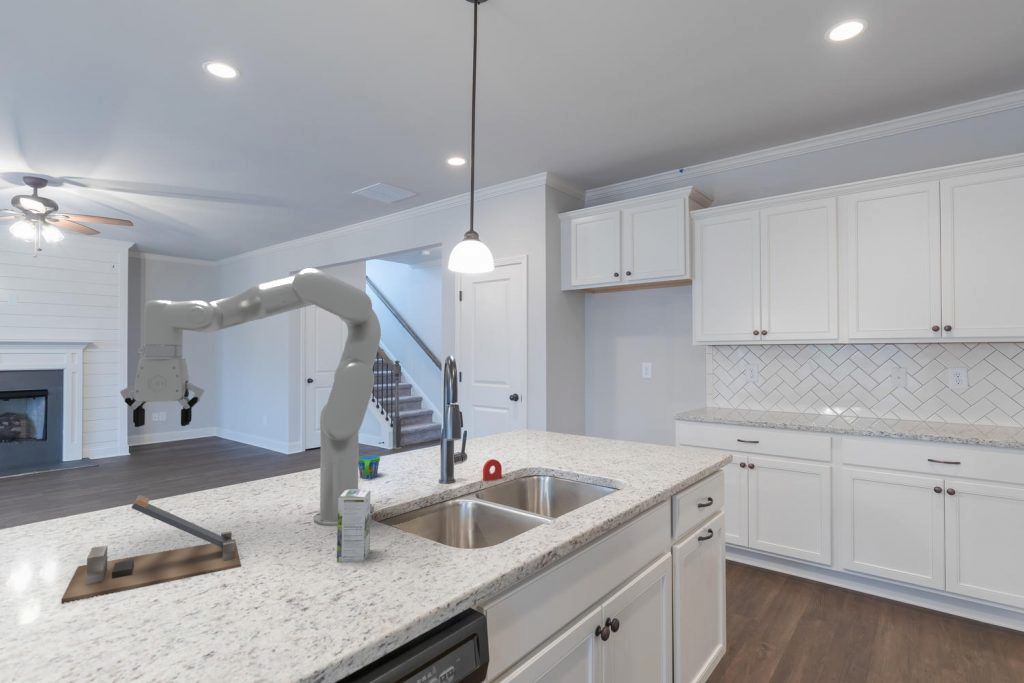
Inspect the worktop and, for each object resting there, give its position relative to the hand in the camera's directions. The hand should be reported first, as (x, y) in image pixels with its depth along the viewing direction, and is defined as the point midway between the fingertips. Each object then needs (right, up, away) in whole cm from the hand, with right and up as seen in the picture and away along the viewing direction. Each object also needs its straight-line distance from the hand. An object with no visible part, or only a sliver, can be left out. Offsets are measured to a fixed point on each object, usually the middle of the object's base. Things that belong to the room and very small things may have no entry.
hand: (162, 425), depth 121 cm
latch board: (+11, -27, -16) cm, 33 cm away
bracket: (+79, -28, +53) cm, 99 cm away
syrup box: (+48, -27, -11) cm, 57 cm away
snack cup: (+32, -28, +57) cm, 72 cm away
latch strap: (+14, -19, -14) cm, 28 cm away
